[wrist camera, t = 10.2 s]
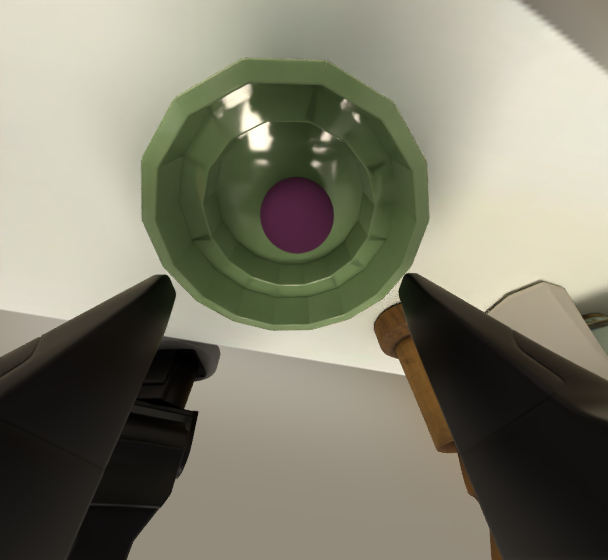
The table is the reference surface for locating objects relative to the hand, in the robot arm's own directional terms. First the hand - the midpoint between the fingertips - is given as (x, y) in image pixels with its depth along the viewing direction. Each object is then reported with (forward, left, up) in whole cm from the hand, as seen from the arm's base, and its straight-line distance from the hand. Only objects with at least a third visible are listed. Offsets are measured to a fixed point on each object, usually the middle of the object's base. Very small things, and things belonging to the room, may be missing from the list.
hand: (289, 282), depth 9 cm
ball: (0, 0, -6) cm, 6 cm away
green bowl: (0, 0, -9) cm, 9 cm away
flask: (-11, -24, -9) cm, 28 cm away
